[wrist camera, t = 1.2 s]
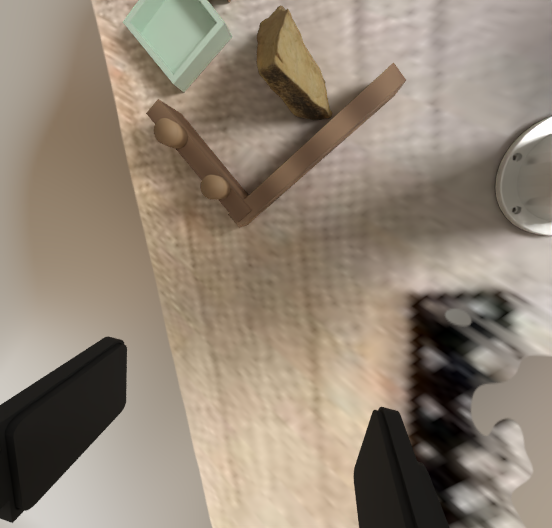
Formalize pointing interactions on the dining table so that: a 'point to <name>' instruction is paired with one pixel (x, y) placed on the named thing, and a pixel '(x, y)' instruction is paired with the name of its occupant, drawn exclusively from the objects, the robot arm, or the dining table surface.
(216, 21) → the tray
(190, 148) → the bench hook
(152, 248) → the dining table surface
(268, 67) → the rock
